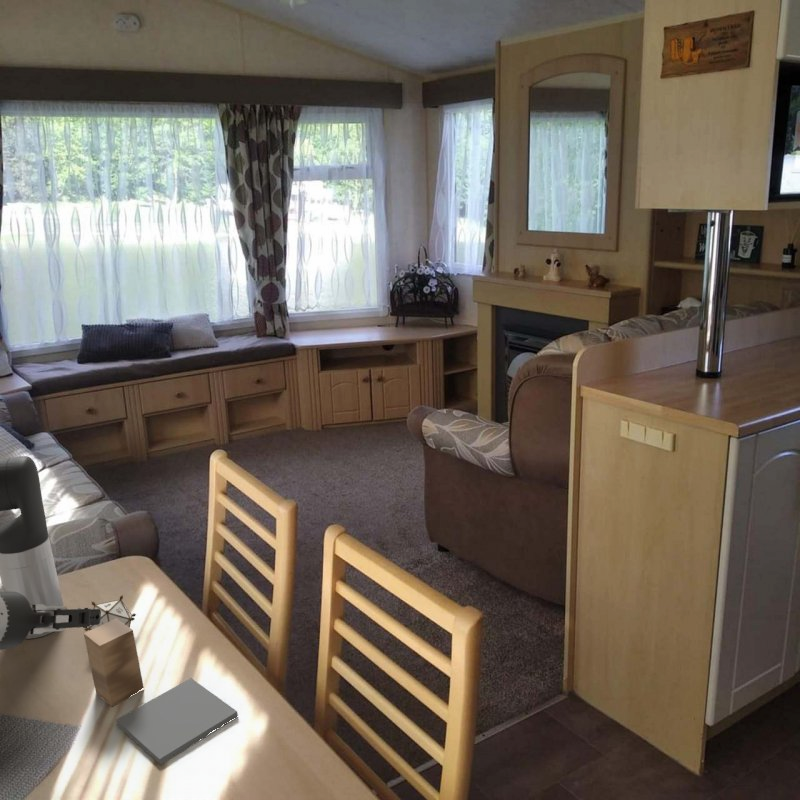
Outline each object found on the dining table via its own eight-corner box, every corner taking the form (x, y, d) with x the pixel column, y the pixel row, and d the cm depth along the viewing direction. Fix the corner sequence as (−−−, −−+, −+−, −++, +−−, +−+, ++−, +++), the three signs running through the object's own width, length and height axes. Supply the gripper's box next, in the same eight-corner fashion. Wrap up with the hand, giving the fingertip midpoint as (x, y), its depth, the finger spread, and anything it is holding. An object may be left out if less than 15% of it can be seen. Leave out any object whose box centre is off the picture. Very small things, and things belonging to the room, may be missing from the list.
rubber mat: (160, 765, 112) (159, 759, 112) (116, 725, 121) (115, 719, 120) (238, 717, 121) (237, 711, 120) (191, 683, 130) (191, 677, 129)
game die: (122, 664, 143) (114, 643, 135) (79, 646, 143) (69, 624, 136) (148, 619, 148) (142, 596, 140) (107, 603, 149) (98, 579, 141)
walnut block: (112, 707, 125) (99, 645, 122) (96, 693, 129) (83, 633, 126) (144, 689, 129) (132, 629, 126) (127, 676, 133) (116, 618, 129)
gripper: (28, 590, 102) (116, 590, 117) (-53, 592, 107) (41, 592, 122) (22, 651, 100) (112, 643, 115) (-60, 651, 106) (37, 643, 120)
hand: (75, 617), depth 119 cm, fingers open, 8 cm apart
